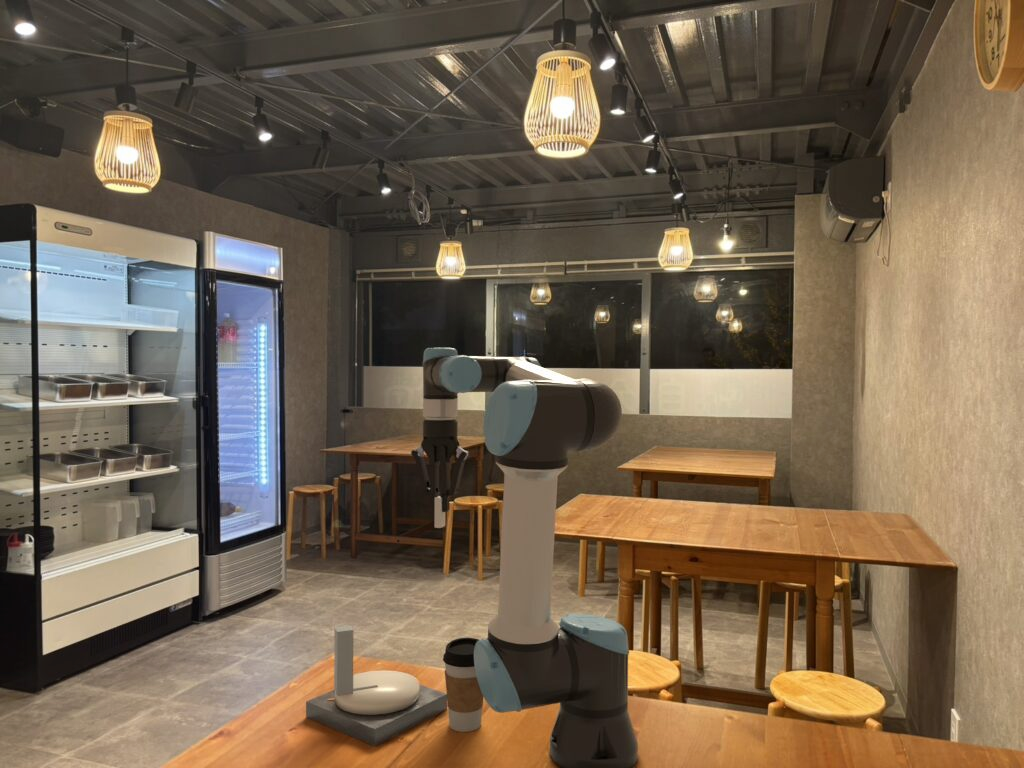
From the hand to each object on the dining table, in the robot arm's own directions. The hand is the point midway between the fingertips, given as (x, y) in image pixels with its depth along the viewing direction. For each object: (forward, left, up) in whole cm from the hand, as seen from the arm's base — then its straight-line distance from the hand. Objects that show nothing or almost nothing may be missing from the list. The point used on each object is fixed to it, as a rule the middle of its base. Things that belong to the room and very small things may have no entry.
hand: (439, 526), depth 166 cm
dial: (-4, +22, -29) cm, 36 cm away
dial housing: (-4, +22, -32) cm, 39 cm away
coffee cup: (-20, +15, -33) cm, 41 cm away
